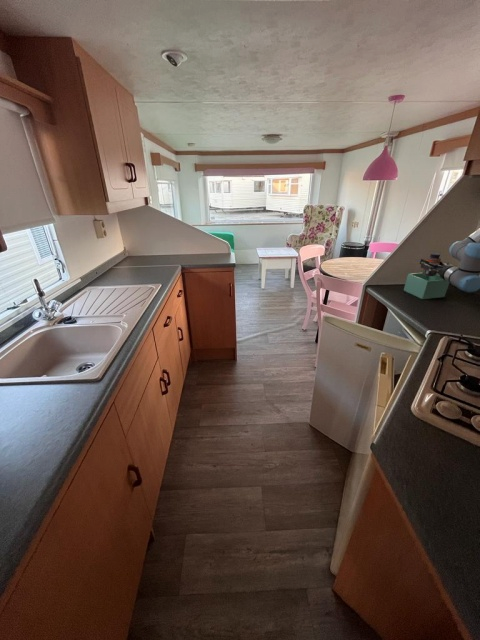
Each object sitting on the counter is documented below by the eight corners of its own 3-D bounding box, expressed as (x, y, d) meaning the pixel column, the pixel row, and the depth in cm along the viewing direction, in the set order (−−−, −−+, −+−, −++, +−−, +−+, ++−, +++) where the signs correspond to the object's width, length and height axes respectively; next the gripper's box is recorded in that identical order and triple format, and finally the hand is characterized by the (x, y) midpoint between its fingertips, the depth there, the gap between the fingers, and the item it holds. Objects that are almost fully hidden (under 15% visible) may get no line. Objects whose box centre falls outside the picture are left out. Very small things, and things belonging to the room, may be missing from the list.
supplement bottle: (422, 272, 145) (428, 251, 140) (435, 274, 142) (442, 253, 137) (422, 275, 141) (429, 254, 135) (435, 277, 138) (443, 255, 133)
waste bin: (444, 296, 141) (450, 279, 137) (422, 299, 139) (427, 281, 135) (424, 288, 153) (429, 271, 149) (403, 290, 151) (408, 273, 147)
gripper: (427, 281, 126) (407, 267, 146) (471, 282, 123) (444, 268, 144) (432, 265, 122) (410, 254, 143) (477, 266, 120) (449, 254, 140)
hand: (427, 261), depth 143 cm, fingers closed on supplement bottle, 6 cm apart
